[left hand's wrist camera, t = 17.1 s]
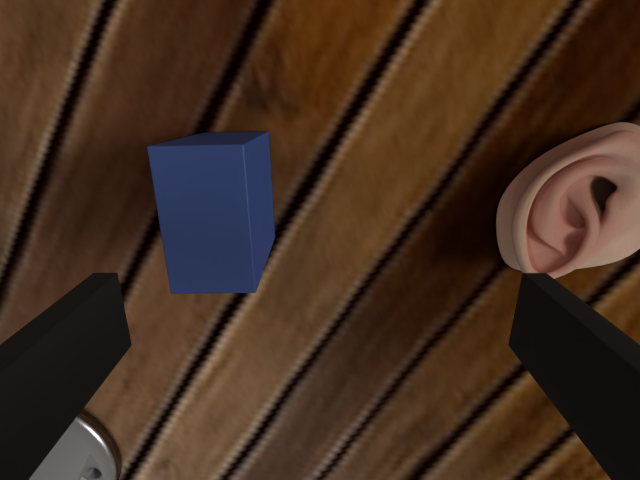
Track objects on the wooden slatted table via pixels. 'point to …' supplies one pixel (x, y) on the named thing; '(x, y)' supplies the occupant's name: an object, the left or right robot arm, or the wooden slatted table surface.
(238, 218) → the brick
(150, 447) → the wooden slatted table surface
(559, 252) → the anatomical model
